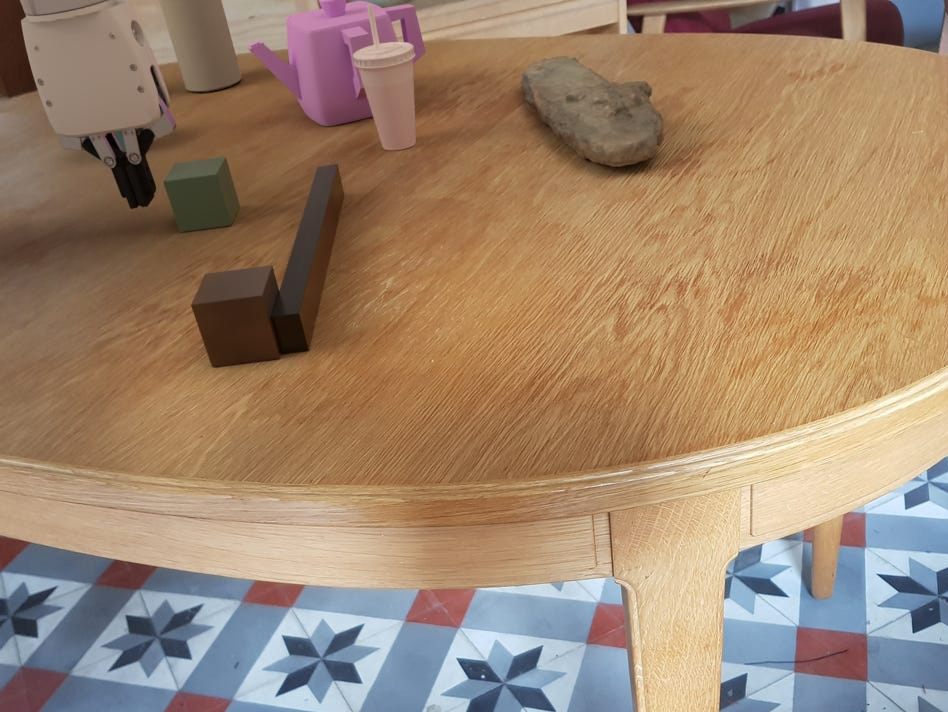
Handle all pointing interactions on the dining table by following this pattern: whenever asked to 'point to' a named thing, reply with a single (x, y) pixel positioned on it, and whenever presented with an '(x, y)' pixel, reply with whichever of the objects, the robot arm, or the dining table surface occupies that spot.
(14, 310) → the dining table surface
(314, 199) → the rail
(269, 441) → the dining table surface
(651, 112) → the long grey stone
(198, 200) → the green block
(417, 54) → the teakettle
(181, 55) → the travel mug
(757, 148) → the dining table surface
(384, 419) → the dining table surface
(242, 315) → the walnut block
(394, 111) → the smoothie
